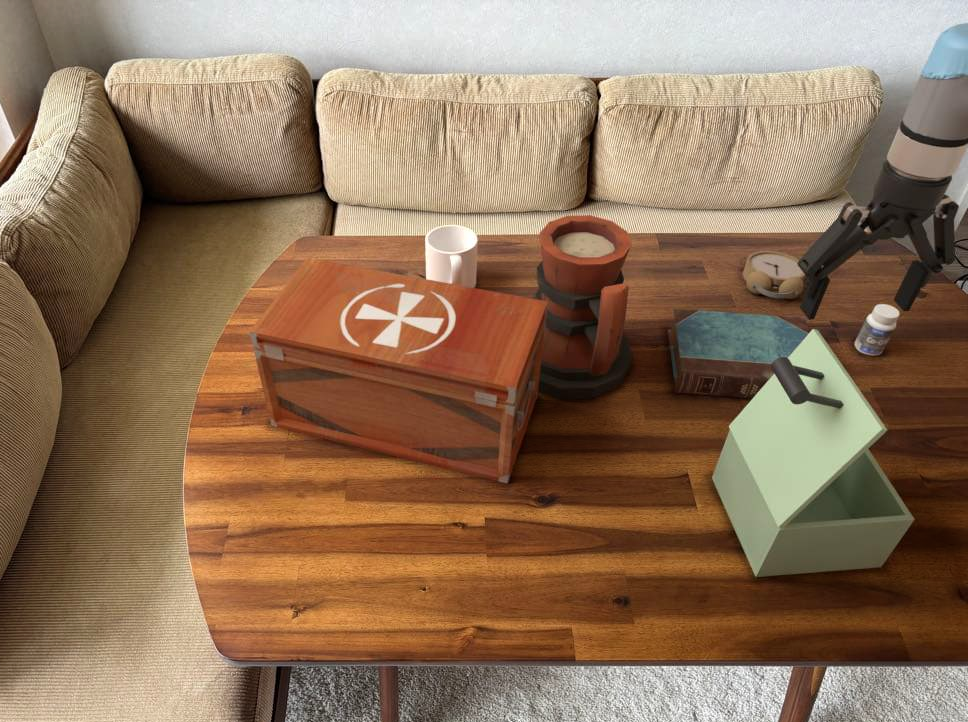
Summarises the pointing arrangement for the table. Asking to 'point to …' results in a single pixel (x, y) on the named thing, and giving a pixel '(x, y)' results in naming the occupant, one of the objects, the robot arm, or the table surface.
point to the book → (729, 350)
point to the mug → (451, 255)
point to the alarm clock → (773, 274)
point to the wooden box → (402, 365)
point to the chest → (814, 519)
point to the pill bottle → (877, 330)
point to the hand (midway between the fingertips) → (854, 309)
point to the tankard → (583, 307)
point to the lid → (804, 428)
